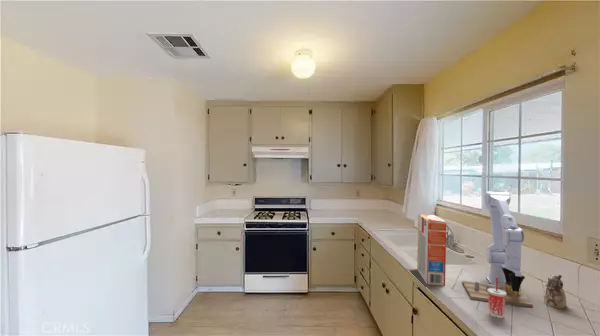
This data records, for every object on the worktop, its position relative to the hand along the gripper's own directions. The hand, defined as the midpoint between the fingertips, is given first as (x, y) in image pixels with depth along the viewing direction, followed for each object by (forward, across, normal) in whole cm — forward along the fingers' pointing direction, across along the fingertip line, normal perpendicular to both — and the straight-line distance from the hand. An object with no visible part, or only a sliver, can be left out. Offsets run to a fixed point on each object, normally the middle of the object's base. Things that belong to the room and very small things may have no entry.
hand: (512, 287), depth 136 cm
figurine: (+4, +3, +14) cm, 15 cm away
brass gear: (+2, 0, 0) cm, 3 cm away
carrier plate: (+4, 0, -7) cm, 8 cm away
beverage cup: (+4, +23, -12) cm, 26 cm away
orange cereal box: (+4, -14, -32) cm, 35 cm away
